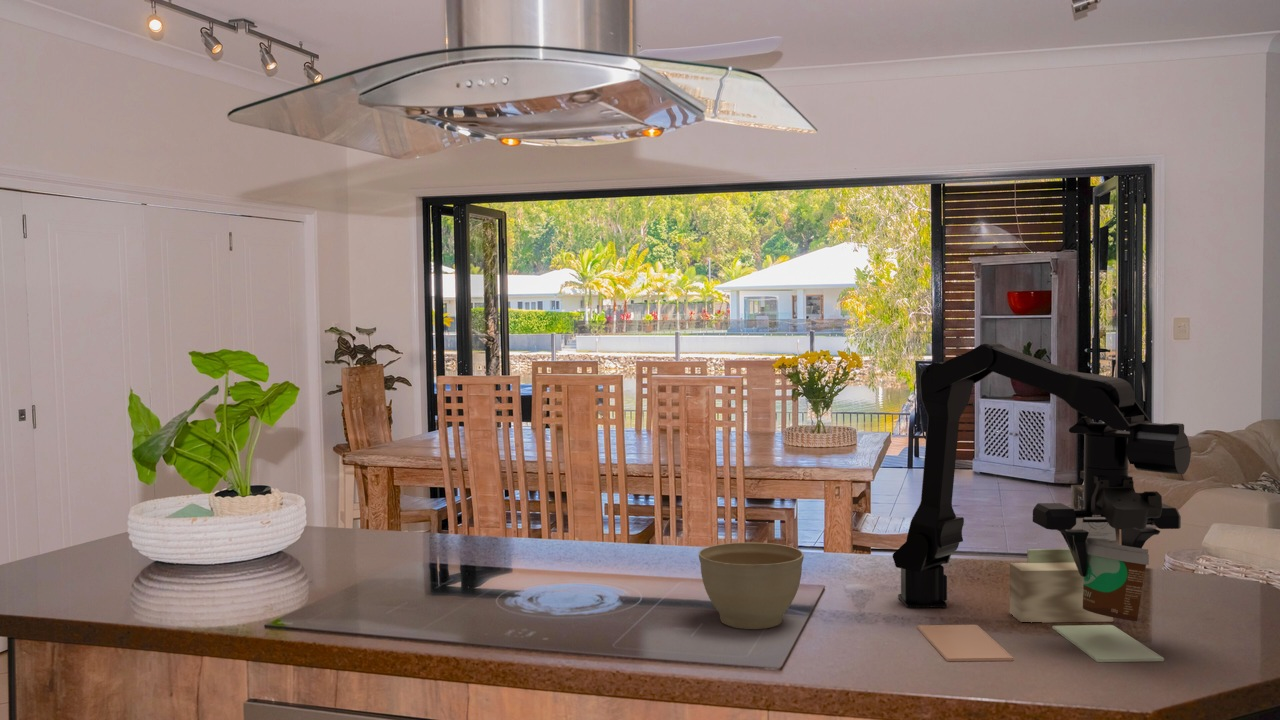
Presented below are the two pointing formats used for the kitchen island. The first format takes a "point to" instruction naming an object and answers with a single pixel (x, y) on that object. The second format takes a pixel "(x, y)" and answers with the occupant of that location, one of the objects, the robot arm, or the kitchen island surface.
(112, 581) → the kitchen island surface
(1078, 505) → the coffee box
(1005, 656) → the plate
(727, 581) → the planter bowl
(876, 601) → the kitchen island surface
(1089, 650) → the sage bay
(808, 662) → the kitchen island surface
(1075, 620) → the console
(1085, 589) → the food container
